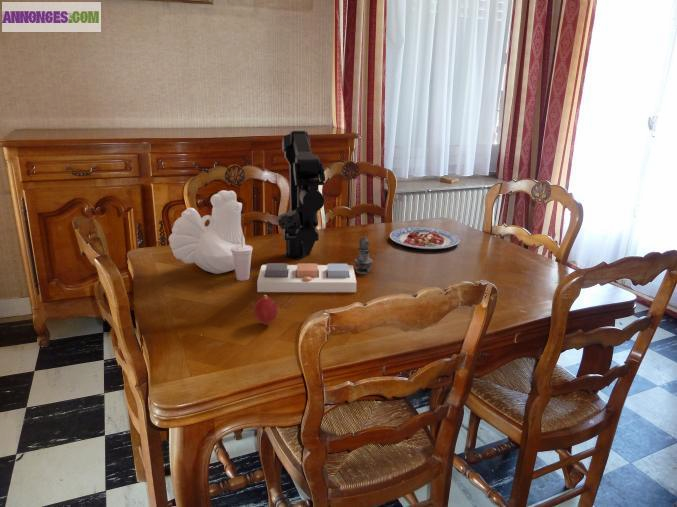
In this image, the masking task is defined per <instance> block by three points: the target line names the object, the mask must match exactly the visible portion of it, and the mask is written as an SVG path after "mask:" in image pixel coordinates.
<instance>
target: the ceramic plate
mask: <svg viewBox="0 0 677 507" xmlns="http://www.w3.org/2000/svg"><path fill="white" fill-rule="evenodd" d="M389 238H390V239H391V240H392V241H393V242H395V243H397V244H399V245H403V246H406V247H409V248H412V249H413V248H414V249H418V250H438V249H447V248H451V247H454V246H456V245H457V244H459V243H460V238H459V237H458V236H457V235H456V234H454V233H452V232H449V231H446V230H443V229H437V228H432V227H431V228H430V227H414V226H413V227H405V228H404V227H403V228H398V229H396V230H393V231H392V232H390V234H389Z"/></svg>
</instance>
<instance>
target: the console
mask: <svg viewBox="0 0 677 507" xmlns="http://www.w3.org/2000/svg"><path fill="white" fill-rule="evenodd" d="M327 265H328V264H318V278H311V277H308V276H306V277H303V278H297V264H287V278H276V277H266V274H265V270H266V266H267V264H262V265H261V266H260V270H259V274H258V278H257V281H256V282H257V283H256V285H257V286H256V287H257V290H256V291H257V293H357V279H356V278H357V277H356V274H355V273H356V272H355V269H354V265H351V264H350V265H349V264H348V269H349V278H328V275H327Z"/></svg>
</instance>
